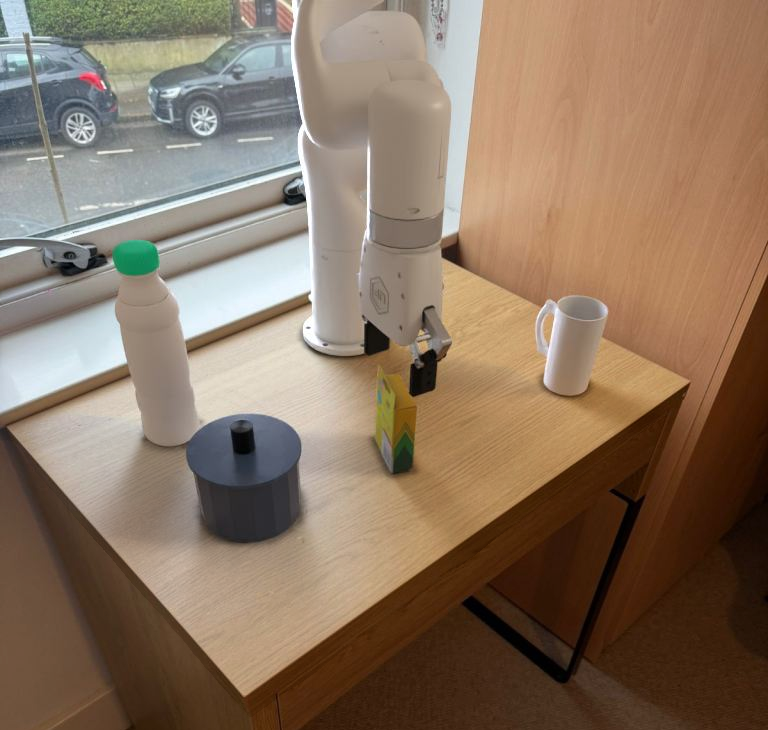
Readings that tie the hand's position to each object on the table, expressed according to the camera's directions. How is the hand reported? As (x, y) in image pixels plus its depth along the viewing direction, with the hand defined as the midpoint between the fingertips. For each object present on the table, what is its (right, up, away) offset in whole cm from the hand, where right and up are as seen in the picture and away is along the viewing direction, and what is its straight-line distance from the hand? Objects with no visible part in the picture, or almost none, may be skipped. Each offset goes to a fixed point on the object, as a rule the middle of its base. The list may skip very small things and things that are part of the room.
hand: (398, 371), depth 87 cm
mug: (+23, +3, +23) cm, 33 cm away
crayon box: (0, -9, +9) cm, 13 cm away
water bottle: (-29, -6, +11) cm, 32 cm away
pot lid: (-17, -9, -4) cm, 20 cm away
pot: (-17, -16, +2) cm, 23 cm away
